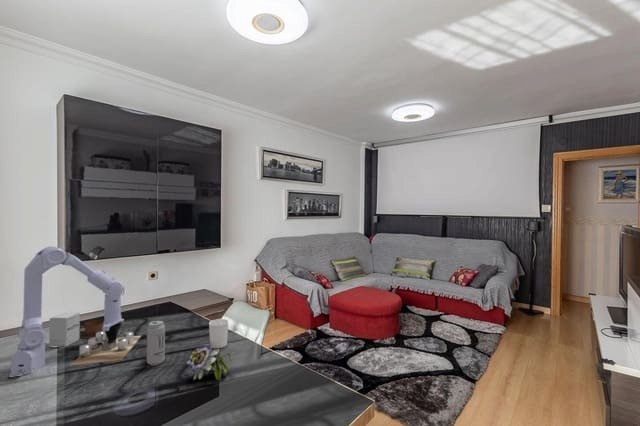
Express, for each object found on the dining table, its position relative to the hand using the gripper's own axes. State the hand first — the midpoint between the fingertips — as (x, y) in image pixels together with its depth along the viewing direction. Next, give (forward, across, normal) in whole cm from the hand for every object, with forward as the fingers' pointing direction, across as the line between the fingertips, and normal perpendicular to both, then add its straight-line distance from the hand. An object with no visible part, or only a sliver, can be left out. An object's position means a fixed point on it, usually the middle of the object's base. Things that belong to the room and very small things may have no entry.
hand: (112, 342), depth 129 cm
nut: (+1, -4, 0) cm, 4 cm away
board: (+2, -4, 0) cm, 5 cm away
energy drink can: (+2, -21, -22) cm, 30 cm away
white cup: (+2, -11, -44) cm, 45 cm away
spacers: (+1, -2, 0) cm, 3 cm away
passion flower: (+2, -35, -42) cm, 54 cm away
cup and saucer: (+2, +16, +12) cm, 20 cm away
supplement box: (+2, +8, +20) cm, 22 cm away
